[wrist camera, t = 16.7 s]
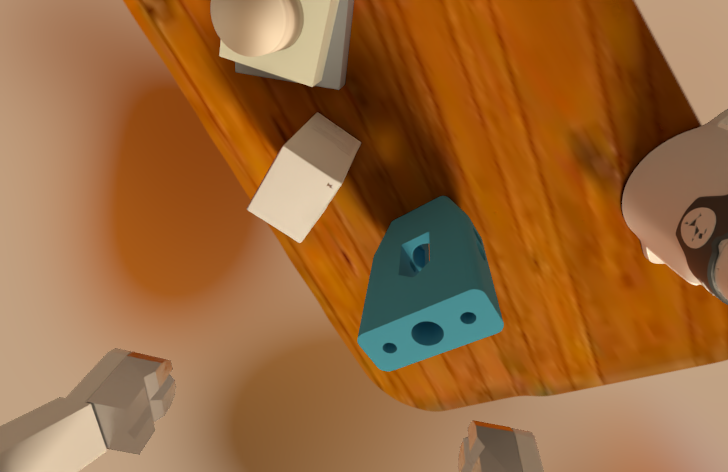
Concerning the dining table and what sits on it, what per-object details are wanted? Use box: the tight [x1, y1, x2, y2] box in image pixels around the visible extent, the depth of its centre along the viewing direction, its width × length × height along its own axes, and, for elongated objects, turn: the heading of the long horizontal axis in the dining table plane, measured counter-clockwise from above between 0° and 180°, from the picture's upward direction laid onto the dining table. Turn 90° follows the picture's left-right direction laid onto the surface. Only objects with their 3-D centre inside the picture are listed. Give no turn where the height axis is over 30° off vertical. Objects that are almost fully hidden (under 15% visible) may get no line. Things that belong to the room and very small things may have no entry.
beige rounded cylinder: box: [210, 0, 304, 57], centre depth 32 cm, size 6×6×6 cm
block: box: [357, 196, 504, 371], centre depth 42 cm, size 12×5×20 cm, turn 124°
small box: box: [247, 112, 361, 243], centre depth 42 cm, size 8×6×13 cm
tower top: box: [219, 0, 339, 87], centre depth 36 cm, size 9×9×4 cm
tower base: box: [235, 0, 354, 90], centre depth 40 cm, size 11×11×4 cm
